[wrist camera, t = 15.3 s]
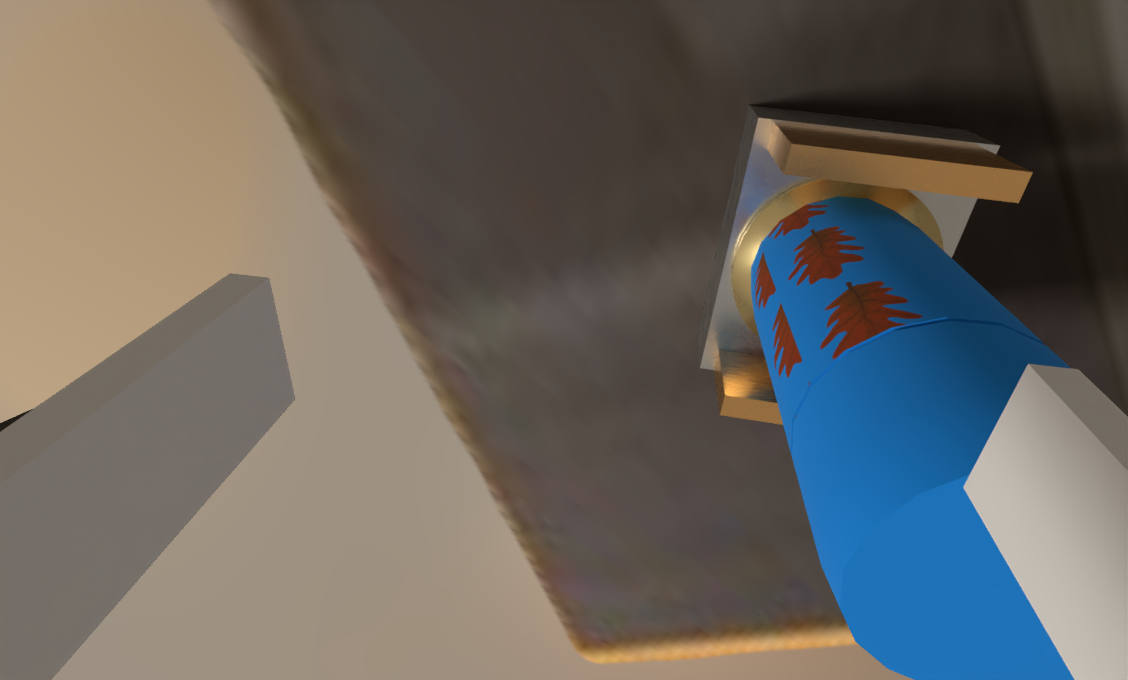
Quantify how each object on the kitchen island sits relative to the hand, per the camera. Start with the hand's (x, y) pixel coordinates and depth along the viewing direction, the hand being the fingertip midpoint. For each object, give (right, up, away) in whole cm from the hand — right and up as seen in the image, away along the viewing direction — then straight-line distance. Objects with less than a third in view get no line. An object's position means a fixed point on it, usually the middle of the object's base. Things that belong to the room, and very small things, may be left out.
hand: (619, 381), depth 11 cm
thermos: (+17, +5, +29) cm, 34 cm away
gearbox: (+18, +8, +34) cm, 39 cm away
